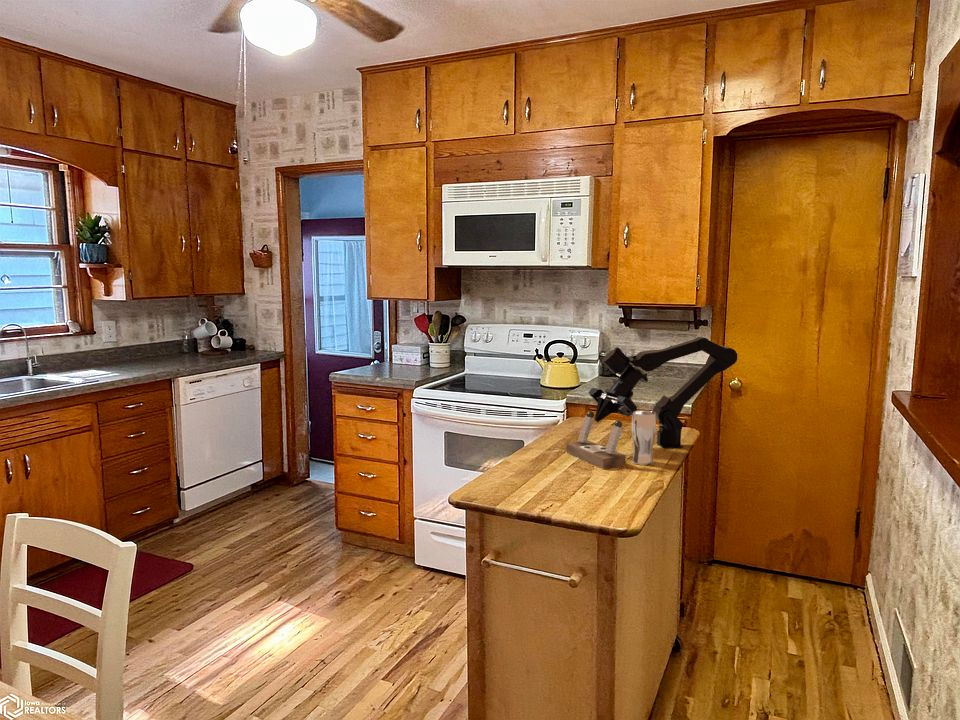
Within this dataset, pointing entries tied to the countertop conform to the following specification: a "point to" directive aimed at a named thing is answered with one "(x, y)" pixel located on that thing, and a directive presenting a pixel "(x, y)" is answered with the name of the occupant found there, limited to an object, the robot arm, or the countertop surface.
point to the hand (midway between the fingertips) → (596, 421)
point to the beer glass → (643, 436)
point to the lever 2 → (614, 437)
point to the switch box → (595, 454)
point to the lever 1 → (586, 427)
